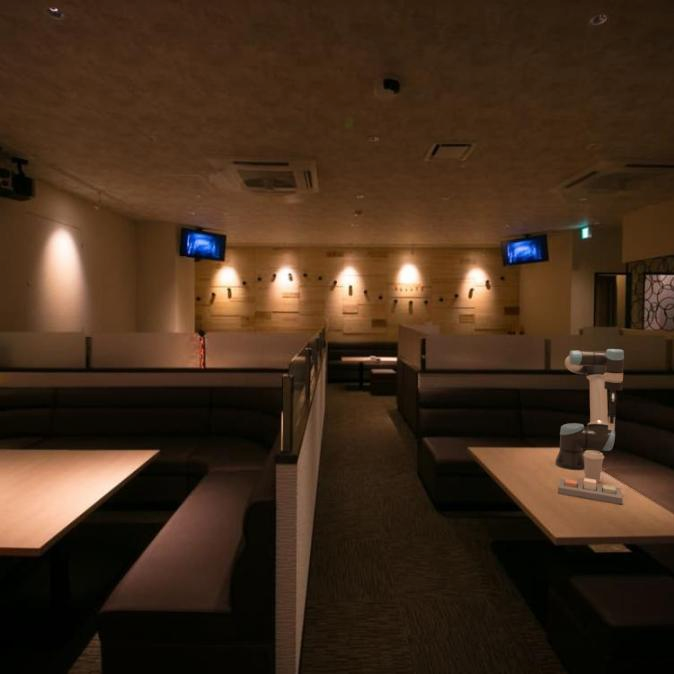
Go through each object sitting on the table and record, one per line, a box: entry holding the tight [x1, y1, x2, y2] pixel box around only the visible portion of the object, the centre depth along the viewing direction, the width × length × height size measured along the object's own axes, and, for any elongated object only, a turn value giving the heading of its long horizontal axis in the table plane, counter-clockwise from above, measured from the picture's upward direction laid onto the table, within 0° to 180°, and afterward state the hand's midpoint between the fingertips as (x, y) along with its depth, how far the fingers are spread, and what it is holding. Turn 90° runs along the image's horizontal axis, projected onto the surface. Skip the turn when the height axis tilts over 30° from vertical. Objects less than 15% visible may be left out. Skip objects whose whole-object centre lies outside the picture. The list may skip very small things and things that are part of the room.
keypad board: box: [558, 478, 623, 506], centre depth 229 cm, size 14×26×3 cm, turn 62°
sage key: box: [603, 484, 617, 494], centre depth 225 cm, size 5×5×4 cm
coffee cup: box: [583, 449, 605, 485], centre depth 246 cm, size 10×10×15 cm
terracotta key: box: [565, 478, 578, 488], centre depth 233 cm, size 5×5×4 cm
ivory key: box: [583, 477, 596, 490], centre depth 229 cm, size 5×5×4 cm
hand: (611, 429), depth 234 cm, fingers closed
